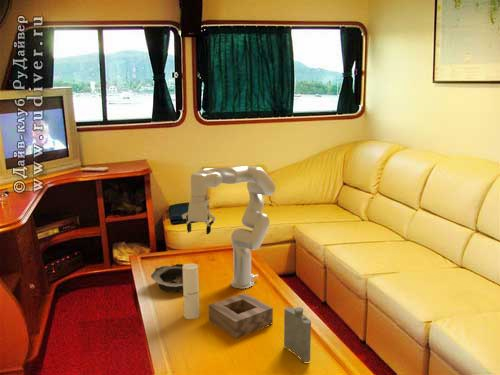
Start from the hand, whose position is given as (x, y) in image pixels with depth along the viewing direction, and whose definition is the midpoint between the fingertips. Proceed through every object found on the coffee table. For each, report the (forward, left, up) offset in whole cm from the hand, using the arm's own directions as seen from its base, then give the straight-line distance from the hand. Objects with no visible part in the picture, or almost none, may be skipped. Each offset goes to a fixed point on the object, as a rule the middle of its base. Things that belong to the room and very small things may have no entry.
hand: (198, 232), depth 244 cm
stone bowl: (0, -24, -37) cm, 44 cm away
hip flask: (-5, +66, -37) cm, 75 cm away
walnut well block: (-3, +30, -37) cm, 47 cm away
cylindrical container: (+11, +10, -37) cm, 40 cm away
